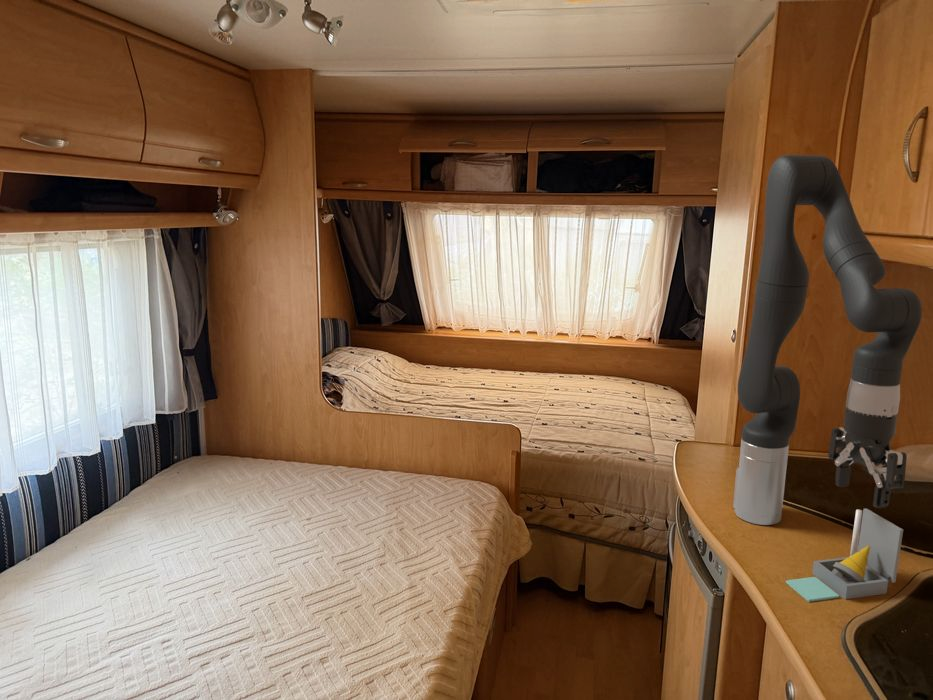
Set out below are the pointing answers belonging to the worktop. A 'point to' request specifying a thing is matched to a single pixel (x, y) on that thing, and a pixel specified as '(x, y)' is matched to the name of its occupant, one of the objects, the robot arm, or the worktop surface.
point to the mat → (812, 589)
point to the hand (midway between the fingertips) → (860, 496)
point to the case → (880, 558)
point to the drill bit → (852, 567)
